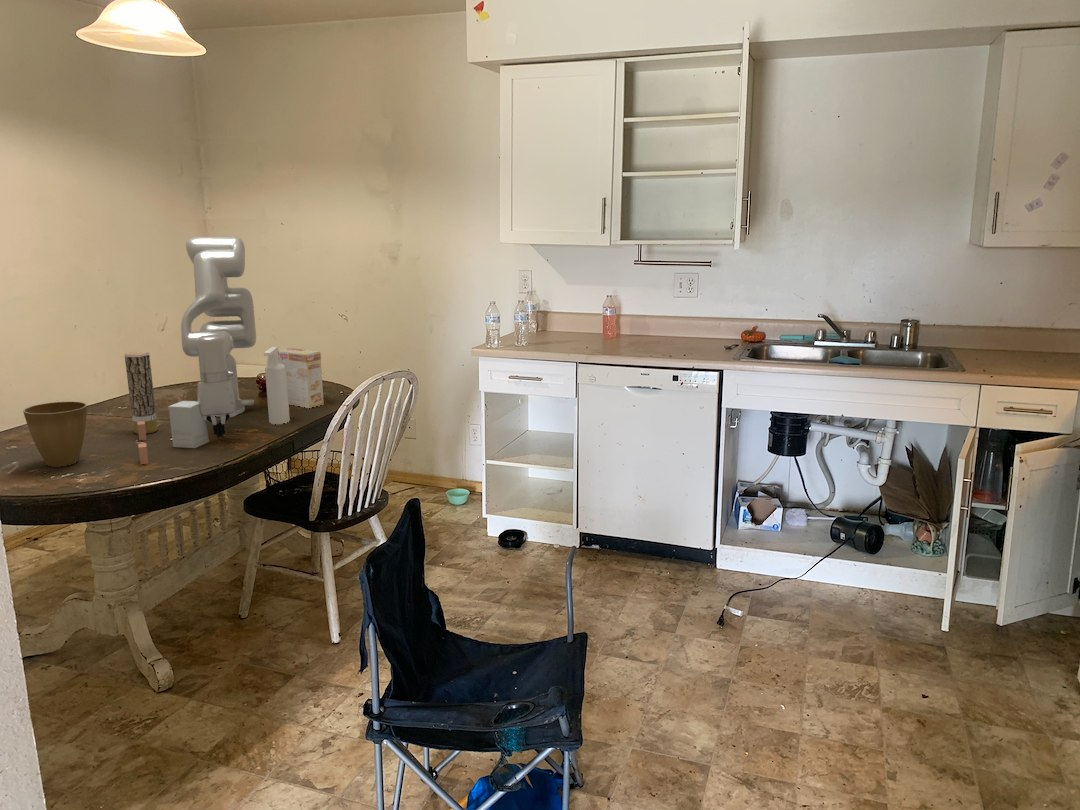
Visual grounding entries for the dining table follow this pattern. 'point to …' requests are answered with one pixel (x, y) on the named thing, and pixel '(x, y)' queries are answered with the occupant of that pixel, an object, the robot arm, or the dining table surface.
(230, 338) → the robot arm
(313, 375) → the coffeecake box
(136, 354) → the paper tube
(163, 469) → the dining table surface
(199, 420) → the supplement box
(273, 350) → the white pump bottle
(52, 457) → the plant pot
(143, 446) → the pinkish brown rectangular block
